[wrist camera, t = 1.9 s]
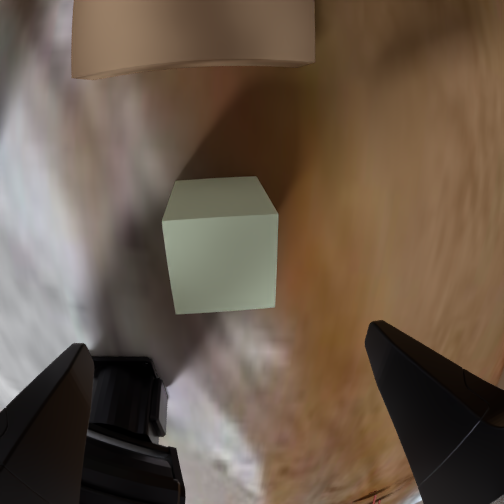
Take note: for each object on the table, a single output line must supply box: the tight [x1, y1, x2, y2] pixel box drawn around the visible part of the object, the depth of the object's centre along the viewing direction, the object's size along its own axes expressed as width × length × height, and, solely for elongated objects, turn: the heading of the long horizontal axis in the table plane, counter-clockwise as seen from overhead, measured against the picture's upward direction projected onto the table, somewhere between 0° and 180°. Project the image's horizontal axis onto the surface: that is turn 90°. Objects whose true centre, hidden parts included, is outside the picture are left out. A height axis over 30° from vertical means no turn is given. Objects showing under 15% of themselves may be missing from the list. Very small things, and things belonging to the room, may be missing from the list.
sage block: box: [162, 176, 278, 314], centre depth 16 cm, size 4×4×6 cm
